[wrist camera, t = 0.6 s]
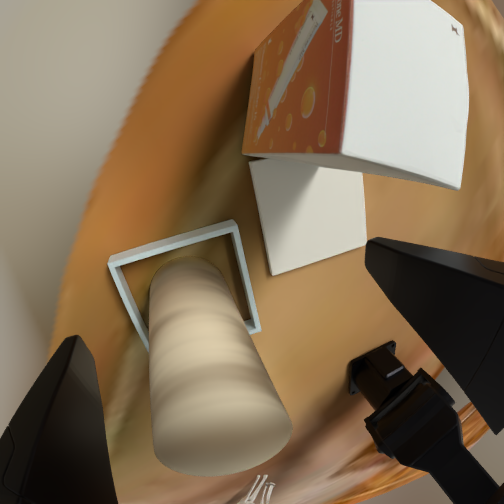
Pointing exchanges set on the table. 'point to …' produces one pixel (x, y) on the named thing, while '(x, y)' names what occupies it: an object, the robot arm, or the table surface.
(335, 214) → the mat
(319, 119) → the small box
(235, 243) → the light blue square frame
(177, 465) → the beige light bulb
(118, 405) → the table surface
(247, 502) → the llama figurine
